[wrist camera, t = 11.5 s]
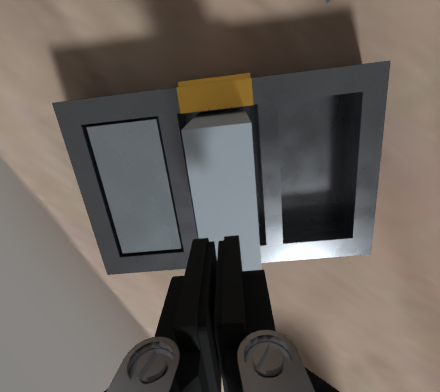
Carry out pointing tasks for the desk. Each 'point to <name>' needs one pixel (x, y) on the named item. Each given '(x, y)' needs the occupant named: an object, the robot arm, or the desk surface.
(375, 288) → the desk surface
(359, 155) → the rack
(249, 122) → the panel
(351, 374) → the desk surface
